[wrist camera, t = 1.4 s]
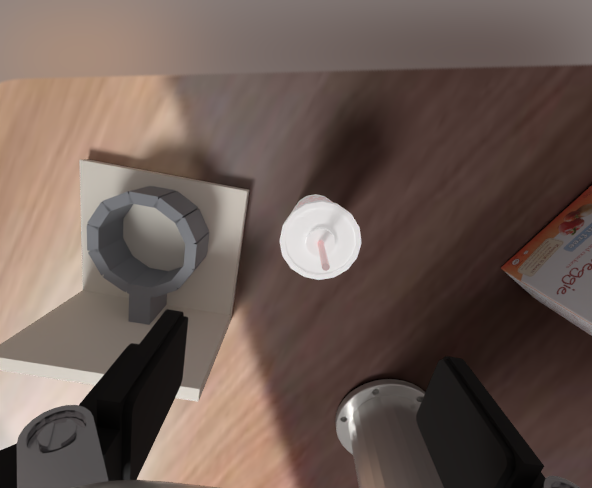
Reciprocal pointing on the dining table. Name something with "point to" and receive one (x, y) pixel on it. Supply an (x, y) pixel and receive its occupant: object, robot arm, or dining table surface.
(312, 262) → the beverage cup
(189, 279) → the bracket
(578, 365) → the dining table surface
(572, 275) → the cracker box
